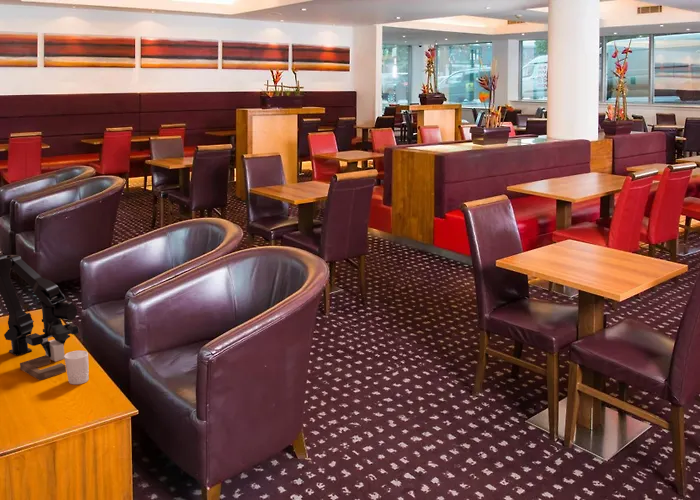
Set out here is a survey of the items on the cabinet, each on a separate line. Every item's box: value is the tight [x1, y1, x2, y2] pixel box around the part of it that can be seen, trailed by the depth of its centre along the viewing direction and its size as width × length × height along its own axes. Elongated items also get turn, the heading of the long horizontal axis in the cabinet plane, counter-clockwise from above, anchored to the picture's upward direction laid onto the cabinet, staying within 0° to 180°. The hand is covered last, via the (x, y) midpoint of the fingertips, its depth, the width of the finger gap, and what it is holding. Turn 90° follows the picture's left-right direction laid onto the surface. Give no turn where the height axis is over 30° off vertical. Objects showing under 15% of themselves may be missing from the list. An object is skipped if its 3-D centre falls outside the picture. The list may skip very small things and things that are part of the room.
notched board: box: [19, 354, 67, 381], centre depth 267 cm, size 14×10×2 cm
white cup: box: [64, 350, 90, 385], centre depth 258 cm, size 8×8×10 cm
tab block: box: [44, 339, 66, 363], centre depth 278 cm, size 7×4×6 cm, turn 50°
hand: (55, 355), depth 279 cm, fingers closed on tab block, 4 cm apart
